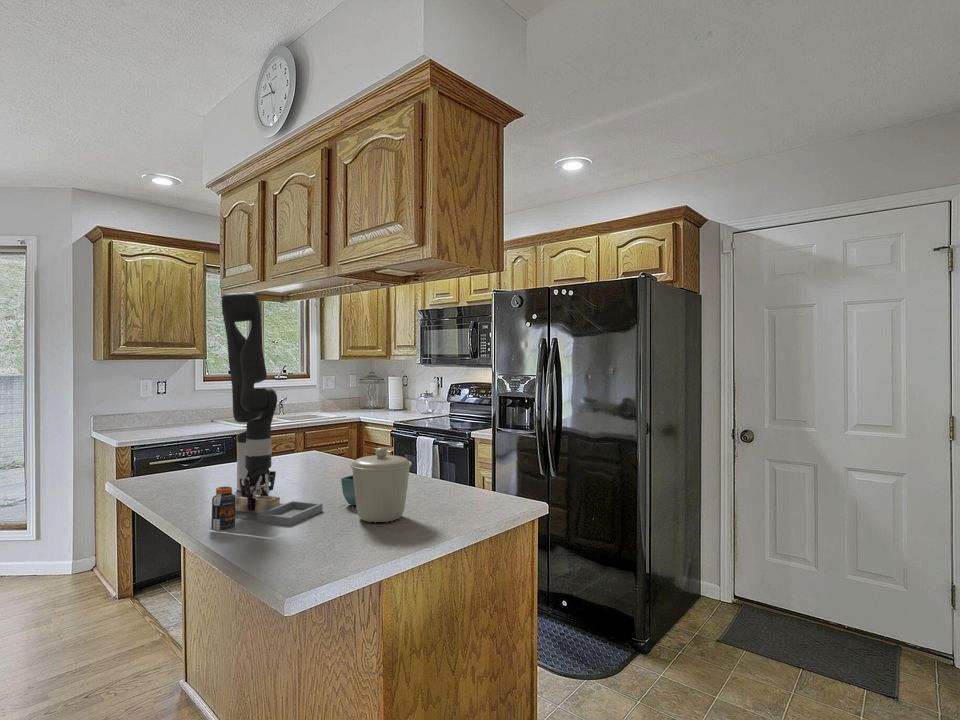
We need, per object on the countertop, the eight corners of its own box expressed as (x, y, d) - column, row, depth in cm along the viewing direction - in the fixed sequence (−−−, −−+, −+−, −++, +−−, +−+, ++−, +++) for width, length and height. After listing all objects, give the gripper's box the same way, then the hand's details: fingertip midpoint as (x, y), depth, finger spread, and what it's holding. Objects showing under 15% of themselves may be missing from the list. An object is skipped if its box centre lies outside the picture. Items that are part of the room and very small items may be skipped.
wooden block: (236, 510, 169) (236, 497, 169) (247, 506, 174) (247, 493, 174) (268, 514, 165) (268, 500, 165) (279, 510, 170) (279, 496, 170)
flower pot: (339, 505, 177) (340, 478, 177) (357, 499, 185) (358, 473, 185) (361, 509, 173) (361, 481, 173) (378, 503, 181) (379, 476, 181)
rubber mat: (259, 502, 180) (259, 501, 180) (295, 506, 176) (295, 505, 176) (217, 517, 163) (217, 515, 163) (256, 521, 159) (256, 520, 159)
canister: (355, 530, 152) (356, 454, 152) (344, 513, 168) (345, 444, 168) (418, 523, 159) (419, 450, 159) (402, 508, 176) (402, 442, 176)
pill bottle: (219, 532, 149) (220, 491, 149) (207, 529, 152) (207, 488, 152) (239, 527, 154) (240, 486, 154) (226, 523, 157) (227, 484, 157)
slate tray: (292, 509, 173) (292, 500, 173) (322, 512, 170) (322, 503, 170) (257, 523, 158) (257, 514, 158) (289, 527, 154) (289, 517, 154)
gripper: (264, 448, 178) (263, 501, 178) (231, 455, 164) (230, 513, 164) (283, 450, 175) (283, 503, 175) (252, 457, 162) (251, 515, 162)
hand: (257, 507), depth 170 cm, fingers closed on wooden block, 5 cm apart
